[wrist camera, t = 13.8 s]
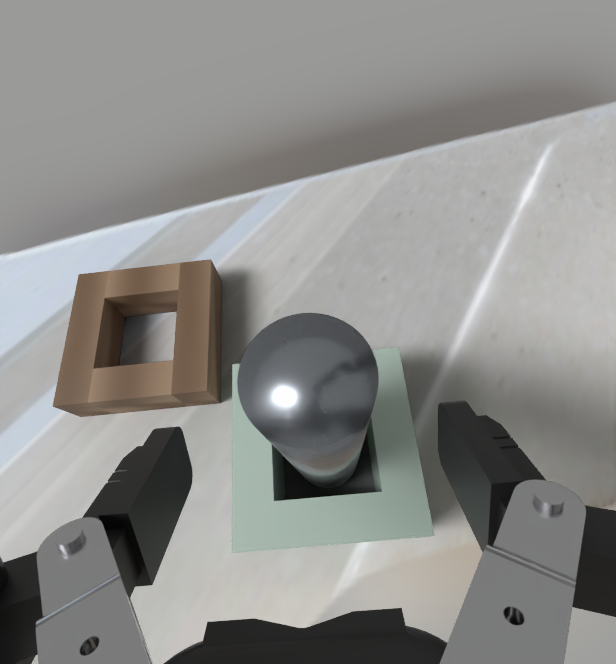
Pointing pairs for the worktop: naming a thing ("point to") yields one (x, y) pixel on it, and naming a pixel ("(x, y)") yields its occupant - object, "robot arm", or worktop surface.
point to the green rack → (332, 511)
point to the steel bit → (311, 393)
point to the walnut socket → (107, 332)
